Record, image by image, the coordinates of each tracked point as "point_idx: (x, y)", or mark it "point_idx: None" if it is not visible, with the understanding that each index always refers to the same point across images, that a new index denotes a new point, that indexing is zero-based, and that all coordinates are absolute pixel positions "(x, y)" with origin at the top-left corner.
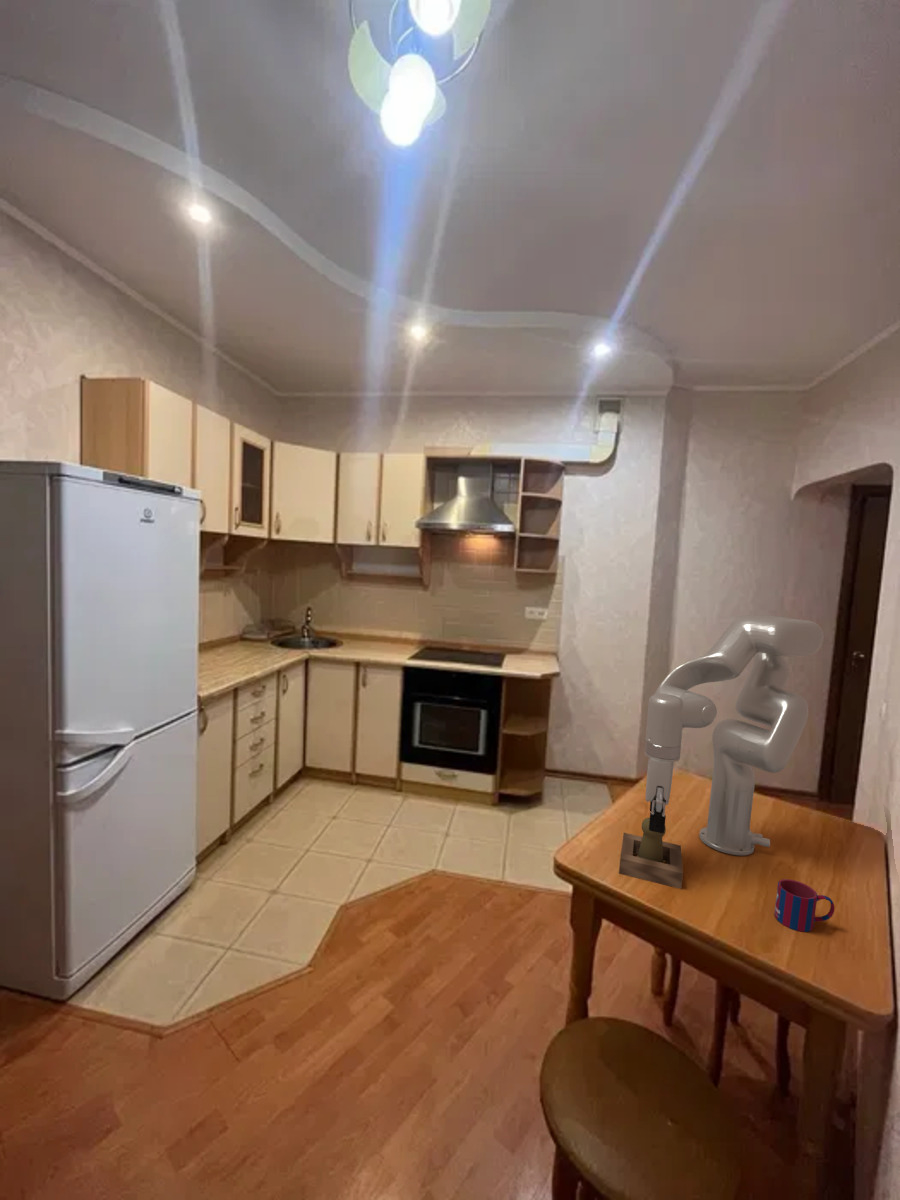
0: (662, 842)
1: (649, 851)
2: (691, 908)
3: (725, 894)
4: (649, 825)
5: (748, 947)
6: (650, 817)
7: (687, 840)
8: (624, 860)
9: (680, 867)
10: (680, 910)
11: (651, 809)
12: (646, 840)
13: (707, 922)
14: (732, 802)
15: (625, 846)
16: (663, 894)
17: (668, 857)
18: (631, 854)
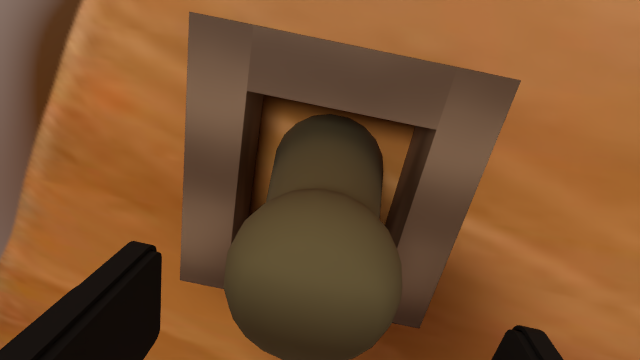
0: (432, 264)
1: (270, 185)
2: (105, 245)
3: (229, 350)
4: (103, 264)
5: (7, 327)
6: (29, 332)
7: (564, 345)
8: (190, 37)
9: (223, 282)
10: (76, 211)
11: (515, 349)
12: (278, 190)
13: (57, 268)
14: None
15: (342, 65)
16: (143, 178)
17: None
18: (257, 87)
